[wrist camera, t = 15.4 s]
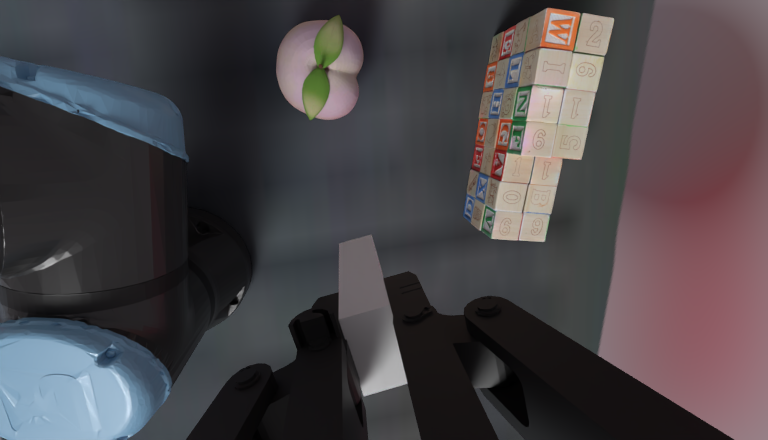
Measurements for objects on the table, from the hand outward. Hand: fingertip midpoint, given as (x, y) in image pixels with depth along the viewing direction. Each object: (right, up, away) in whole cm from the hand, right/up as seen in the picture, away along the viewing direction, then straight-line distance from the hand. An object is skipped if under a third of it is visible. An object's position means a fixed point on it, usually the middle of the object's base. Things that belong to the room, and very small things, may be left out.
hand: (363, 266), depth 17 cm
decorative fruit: (-6, +18, +25) cm, 32 cm away
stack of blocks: (+15, +13, +29) cm, 35 cm away
